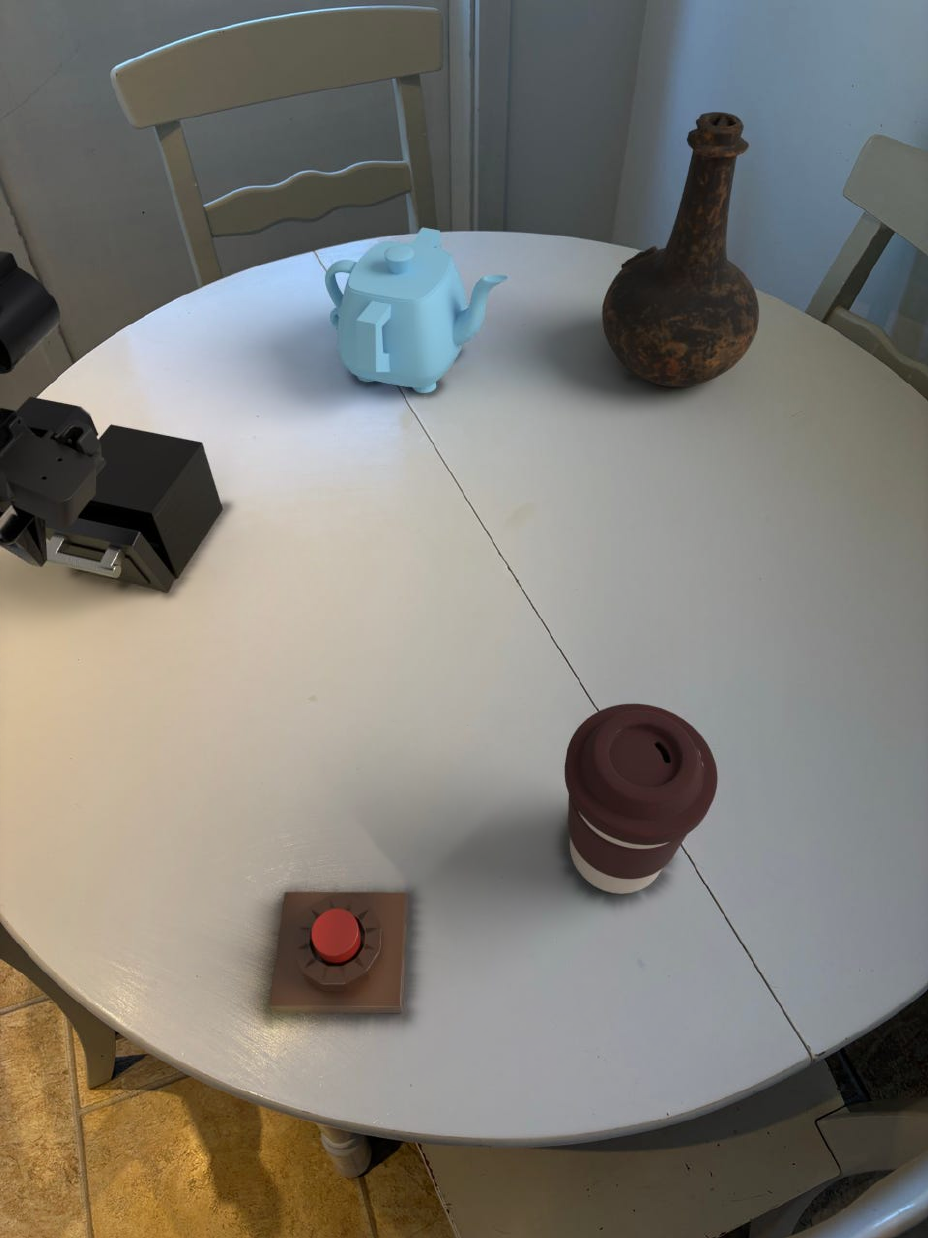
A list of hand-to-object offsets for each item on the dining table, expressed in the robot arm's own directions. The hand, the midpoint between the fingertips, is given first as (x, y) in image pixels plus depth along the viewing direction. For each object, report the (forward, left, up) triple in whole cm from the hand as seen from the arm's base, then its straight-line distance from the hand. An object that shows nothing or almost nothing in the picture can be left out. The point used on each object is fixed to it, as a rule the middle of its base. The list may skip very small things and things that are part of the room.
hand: (39, 563), depth 74 cm
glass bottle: (+72, +14, -11) cm, 74 cm away
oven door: (+4, +5, -11) cm, 13 cm away
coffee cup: (+35, -38, -11) cm, 53 cm away
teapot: (+44, +26, -11) cm, 52 cm away
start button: (+13, -37, -7) cm, 40 cm away
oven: (+9, +11, -10) cm, 18 cm away
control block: (+13, -37, -10) cm, 41 cm away
